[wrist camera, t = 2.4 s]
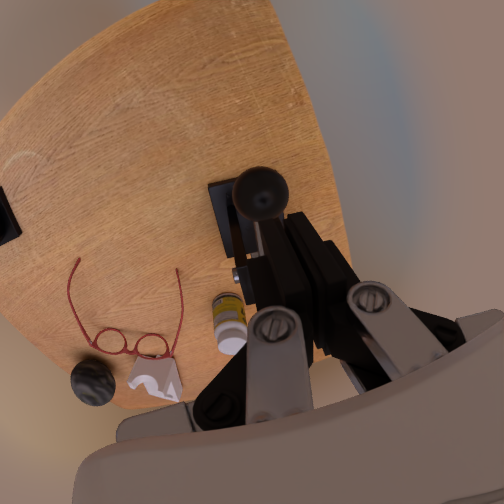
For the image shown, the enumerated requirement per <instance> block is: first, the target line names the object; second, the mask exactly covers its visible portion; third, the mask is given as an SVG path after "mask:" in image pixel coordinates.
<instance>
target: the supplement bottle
mask: <svg viewBox="0 0 504 504" xmlns="http://www.w3.org/2000/svg"><path fill="white" fill-rule="evenodd" d="M212 308H213V322H214V335H215V338H216V339H217V342H218V349H219V350H220V351H221V352H222V353H224V354H228V355H235V354H236V353H237V352H238V351H239V350H240V349H241V348H242V347H243V345H244V344H245V343H246V342H247V322H246V317H245V311H244V306H243V301H242V299H241V298H240V297H239V296H238V295H236V294H233V293H225V294H221V295H219V296H217V297H216V298H215V299H214V301H213V304H212Z"/></svg>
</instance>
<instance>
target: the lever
mask: <svg viewBox="0 0 504 504" xmlns="http://www.w3.org/2000/svg"><path fill="white" fill-rule="evenodd" d="M232 198H233V202H234V205H235V207H236V209H237V211H238V212H239V213H240V214H241V215H242V216H243V217H245V218H246V219H248V220H250V221H253V224H254V231H255V238H256V245H257V252H254V253H251V258H255V257H259V256H263V255H264V252H263V247H262V241H261V236H260V231H259V225H258V221H260V220H265V219H269V218H273V219H275V218H277V217H278V216H279V215H280V214H281V213H282V212H283V211H284V209H285V208H286V206H287V203H288V199H289V190H288V186H287V183H286V181H285V180H284V178H283V177H282V176H281V175H280V174H279V173H278V172H277V171H275V170H273V169H271V168H268V167H263V166H258V167H253V168H250V169H248V170H246V171H244V172H243V173H242V174H241V175H240V176H239V177H238V178H237V180H236V181H235V183H234V186H233V190H232Z"/></svg>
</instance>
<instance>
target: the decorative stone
mask: <svg viewBox="0 0 504 504" xmlns="http://www.w3.org/2000/svg"><path fill="white" fill-rule="evenodd" d="M71 386H72V389H73V391H74V393H75V394H76V396H77V397H78V398H79V399H80V400H81V401H82V402H84V403H86V404H88V405H91V406H102V405H105V404H106V403H108V402H109V401H110V400H111V399H112V398H113V396H114V393H115V388H116V384H115V380H114V377H113V375H112V373H111V371H110V370H109V369H108V368H107V367H106V366H105V365H104V364H102V363H100V362H98V361H95V360H84V361H82V362H80V363H78V364H77V365H76V366H75V367H74V369H73V370H72V373H71Z"/></svg>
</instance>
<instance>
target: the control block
mask: <svg viewBox="0 0 504 504" xmlns="http://www.w3.org/2000/svg"><path fill="white" fill-rule="evenodd" d="M21 234H22V231H21V229H20V227H19V225H18V223H17V221H16V219H15V216H14V214H13V212H12V210H11V208H10V206H9V203H8V201H7V199H6V196H5V194H4V191H3V189H2V186H1V187H0V246H1V245H3V244H5V243H7V242H9V241H11V240H13V239H15V238H17V237H19V236H20V235H21Z"/></svg>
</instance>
